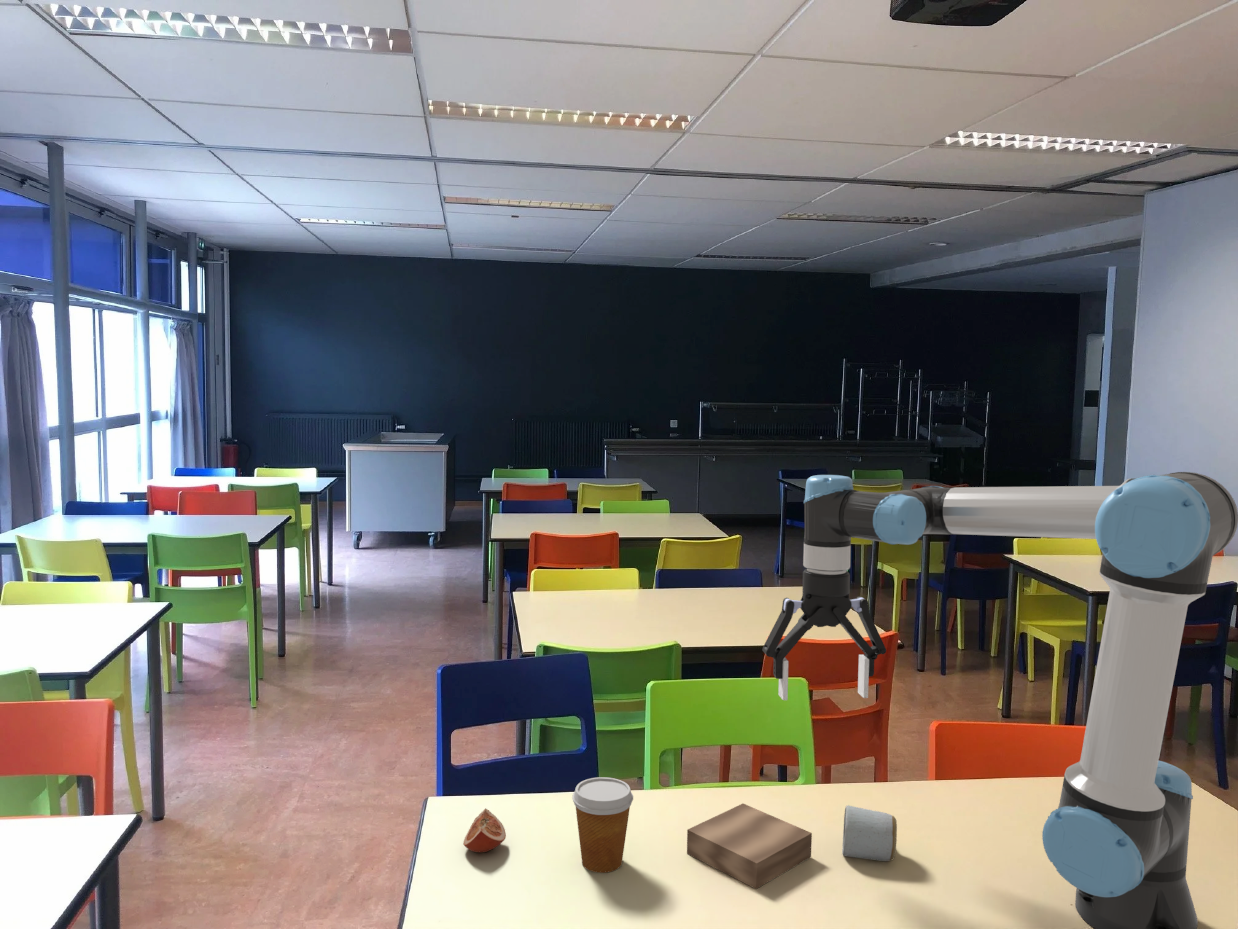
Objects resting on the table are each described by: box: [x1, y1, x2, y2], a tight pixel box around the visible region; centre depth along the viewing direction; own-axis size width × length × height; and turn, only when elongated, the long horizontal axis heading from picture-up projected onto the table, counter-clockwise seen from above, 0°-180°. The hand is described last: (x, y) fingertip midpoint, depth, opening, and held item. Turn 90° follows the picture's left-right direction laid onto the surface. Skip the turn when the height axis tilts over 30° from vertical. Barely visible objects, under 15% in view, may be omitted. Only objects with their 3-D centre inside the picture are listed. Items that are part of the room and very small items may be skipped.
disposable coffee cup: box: [571, 776, 634, 874], centre depth 144 cm, size 10×10×12 cm
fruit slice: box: [463, 808, 507, 853], centre depth 149 cm, size 8×7×5 cm
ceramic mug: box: [841, 804, 898, 862], centre depth 149 cm, size 11×8×8 cm
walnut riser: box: [686, 803, 813, 890], centre depth 148 cm, size 14×14×4 cm
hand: (823, 696), depth 153 cm, fingers open, 13 cm apart
